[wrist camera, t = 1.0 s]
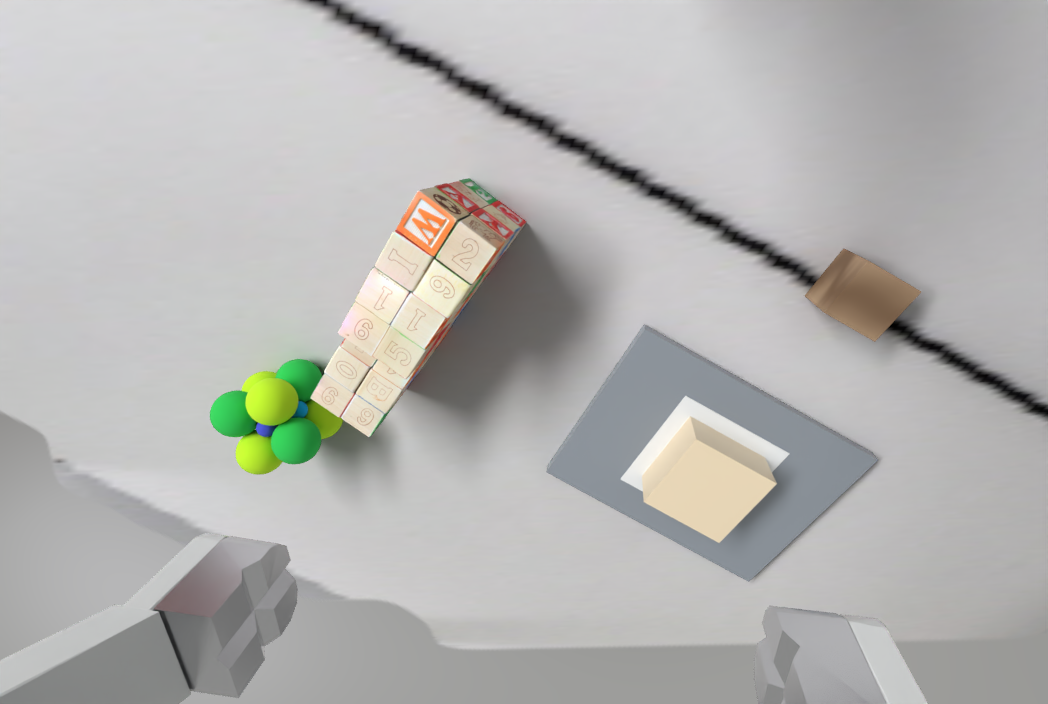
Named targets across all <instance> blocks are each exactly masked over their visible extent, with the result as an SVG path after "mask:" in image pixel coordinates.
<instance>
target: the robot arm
mask: <svg viewBox="0 0 1048 704" xmlns="http://www.w3.org/2000/svg"><path fill="white" fill-rule="evenodd" d="M289 562H290V556H289V553H288V550H287V547H286V546H285V545H281V544H277V543H271V542H265V541H259V540H252V539H246V538H240V537H233V536H224V535H218V534H211V533H205V534H202V535H200V536H197V537H195V538H194V539H193V540H192V541H191V542H190V543H189V544H188V545H187V546H186V547H184V548H183V549H182V550H181V551H180V552H179V553H178V554H177V555H176V556H175V557H174V558H173V559H172V560H171V561H170V562H169V563H168V564H167V565H165V566H164V567H163V568H162V569H161V570H160V571H159V572H158V573H157V574H156V575H155V576H154V577H153V578H152V579H151V580H149V581H148V582H147V583H146V584H145V585H144V586H143V587H142V588H141V589H140V590H139V591H138V592H137V593H136V594H135V595H134V596H132V597H131V598H130V599H129V600H128V601H127V602H126V603H125V604H124V605H123V606H122V605H113V606H111V607H109V608H107V609H105V610H103V611H101V612H99V613H96V614H94V615H93V616H90V617H88V618H86V619H84V620H82V621H80V622H78V623H76V624H74V625H72V626H70V627H68V628H66V629H64V630H62V631H60V632H58V633H55V634H53V635H51V636H49V637H47V638H45V639H43V640H41V641H39V642H37V643H35V644H33V645H31V646H29V647H27V648H25V649H23V650H20V651H18V652H16V653H14V654H12V655H10V656H8V657H6V658H4V659H2V660H0V704H179V703H180V702H182V701H183V700H184V699H186V698H187V697H188V696H189V695H191V692H190V691H194V692H201V693H208V694H215V695H222V696H228V697H235V698H239V697H240V695H241V694H242V692H243V690H244V689H245V688H246V686H247V685H248V683H249V682H250V681H251V679H252V678H253V676H254V674H255V673H256V672H257V670H258V669H259V667H260V666H261V664H262V663H263V661H264V660H265V646H266V645H267V644H268V643H270V642H272V641H273V640H275V639H276V638H278V637H279V636H281V635H282V633H283V631H284V630H285V628H286V627H287V625H288V624H289V622H290V621H291V618H292V615H293V612H294V609H295V607H296V604H297V591H298V589H297V585H296V580H295V578H294V577H293V576H292V575H291V574H290V573H289V572H288V571H287V570H286V569H285V568H286V566H287V565H288V563H289ZM762 624H763V628H764V631H765V634H766V638H764V639H763V640H762V641H760V642H759V643H757V647H756V652H755V657H754V681H755V688H756V694H757V699H758V703H759V704H928V702H927V700H926V698H925V696H924V695H923V693H922V692H921V689H920V688H919V686H918V684H917V682H916V681H915V679H914V677H913V675H912V673H911V671H910V669H909V668H908V666H907V664H906V662H905V661H904V659H903V657H902V655H901V653H900V652H899V650H898V648H897V646H896V644H895V643H894V641H893V639H892V637H891V635H890V634H889V632H888V630H887V628H886V626H885V625H884V624H883V623H882V622H881V621H880V620H878V619H875V618H867V617H859V616H851V615H842V614H840V615H838V614H836V613H828V612H819V611H811V610H802V609H793V608H785V607H776V606H769V607H768V608H767V610H766V611H765V614H764V618H763V622H762Z"/></svg>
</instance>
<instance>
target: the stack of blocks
mask: <svg viewBox="0 0 1048 704" xmlns="http://www.w3.org/2000/svg"><path fill="white" fill-rule="evenodd" d="M525 224H526V221H525V220H523V219H522V218H521V217H519V216H518V215H517V214H516V213H514V212H513V211H512V210H510V209H509V208H508V207H506V206H505V205H504V204H502V203H501V202H500V201H498V200H496V199H495V198H494V197H492V196H491V195H490V194H489V193H487V192H486V191H485V190H484V189H482V188H481V187H480V186H478V185H477V184H476V183H474V182H473V181H472V180H471V179H469V178H468V179H463V180H459V181H458V182H453V183H449V184H447V183H446V184H442V185H437V186H434V187H433V188H427V189H423V190H418V191H417V193H416V195H415V196H414V198H413V200H412V202H411V203H410V205H409V207H408V209H407V210H406V212H405V214H404V216H403V217H402V219H401V221H400V223H399V224H398V226H397V230H395V231H394V232H393V233H392V234H391V236H390V238H389V240H388V242H387V244H386V246H385V247H384V249H383V251H382V253H381V255H380V257H379V258H378V260H377V262H376V264H375V267H373V268H372V269H371V271H370V273H369V274H368V276H367V278H366V280H365V282H364V284H363V286H362V287H361V289H360V291H359V293H358V295H357V297H356V300H355V302H354V304H353V305H352V307H351V309H350V311H349V312H348V314H347V316H346V318H345V320H344V322H343V323H342V325H341V327H340V329H339V331H338V334H339V335H341V336H342V337H344V338H345V339H344V341H343V342H342V344H341V345H340V346H339V347H338V349H337V350H336V352H335V353H334V355H333V357H332V358H331V360H330V362H329V364H328V365H327V367H326V369H325V370H324V373H325V374H324V375H323V377H322V378H321V380H320V382H319V383H318V385H317V387H316V388H315V390H314V392H313V393H312V395H311V397H310V398H311V399H312V400H314V401H315V402H317V403H318V404H320V405H321V406H323V407H324V408H326V409H327V410H329V411H330V412H331V413H333V414H334V415H336V416H337V417H341V418H342V419H343V420H344V421H346V422H347V423H349V424H350V425H352V426H353V427H354V428H356V429H358V430H359V431H360V432H362V433H363V434H365V435H366V436H368V437H370V436H371V435H372V434H373V433H374V432H375V430H376V429H377V428H378V427H379V425H380V424H381V423H382V422H383V420H384V419H385V417H386V416H387V414H388V413H389V411H390V410H391V409H392V408H393V406H394V405H395V404H396V402H397V401H398V400H399V398H400V397H401V396H402V395H403V393H404V392H405V391H406V389H407V388H408V387H409V385H410V384H411V382H412V381H413V379H414V378H415V377H416V376H417V374H418V373H419V372H420V370H421V369H422V368H423V366H424V365H425V364H426V362H427V361H428V359H429V358H430V357H431V355H432V354H433V352H434V351H435V349H436V348H437V347H438V345H439V344H440V343H441V341H442V340H443V338H444V337H445V336H446V334H447V333H448V331H449V330H450V329H451V327H452V324H453V323H454V322H455V320H456V319H457V317H458V316H459V315H460V313H461V312H462V310H463V309H464V308H465V306H466V305H467V303H468V302H469V300H470V299H471V297H472V296H473V295H474V293H475V292H476V290H477V289H478V288H479V286H480V285H481V283H482V282H483V281H484V279H485V278H486V277H487V276H488V275H489V273H490V272H491V271H492V269H493V268H494V266H495V265H496V264H497V262H498V261H499V260H500V258H501V257H502V255H503V254H504V253H505V251H506V250H507V249H508V248H509V246H510V245H511V244H512V242H513V241H514V239H515V238H516V237H517V235H518V234H519V232H520V231H521V230H522V228H523V227H524V225H525Z"/></svg>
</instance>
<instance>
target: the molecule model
mask: <svg viewBox="0 0 1048 704" xmlns="http://www.w3.org/2000/svg"><path fill="white" fill-rule="evenodd" d="M321 378H322V374H321V372H320V370H319V368H318V367H317V366H316V365H315V364H313V363H312V362H310V361H307V360H303V359H296V360H291V361H289V362H287V363H285V364H284V365H282V366H281V367H280V369H279V370H278V372H277V374H276V373H274V372H269V371H264V372H258V373H256V374H254V375H252V376H250V377H249V378H248V379H247V380H246V381H245V383H244V385H243V387H242V391H231V392H227V393H225V394H223V395H221V396H220V397H219V398H218V399H217V400H216V401H215V402H214V403H213V405H212V407H211V410H210V420H211V423H212V425H213V427H214V428H215V429H216V430H217V431H218V432H219V433H221V434H223V435H225V436H229V437H241V436H243V437H242V439H241V440H240V441H239V443H238V445H237V448H236V459H237V462H238V464H239V465H240V467H241V468H242V469H244V470H245V471H247V472H249V473H251V474H266V473H269V472H271V471H273V470H275V469H276V468H277V467H279V466H280V464H281V463H282V462H285V463H288V464H300V463H304V462H306V461H308V460H310V459H311V458H312V457H314V456H315V454H316V453H317V452H318V450H319V448H320V445H321V439H325V438H328V437H331V436H332V435H334V434H335V433H336V432H337V431H338V430H339V429H340V427H341V425H342V422H343V419H342V418H341V417H337V416H336V415H334V414H333V413H331V412H330V411H329V410H327V409H326V408H324V407H323V406H321V405H320V404H318V403H317V402H315V401H314V400H312V399H311V398H310V397H311V395H312V393H313V392H314V390H315V388H316V387H317V385H318V383H319V382H320V380H321ZM304 402H305V403H304ZM255 429H256V430H255Z"/></svg>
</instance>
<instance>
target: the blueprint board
mask: <svg viewBox="0 0 1048 704" xmlns="http://www.w3.org/2000/svg"><path fill="white" fill-rule="evenodd" d="M877 461H878V459H877V458H876V457H875V456H874V454H873V453H872V452H870V451H868V450H867V449H865V448H863V447H861V446H860V445H858V444H856V443H854V442H852V441H851V440H849V439H847V438H845V437H844V436H842V435H840V434H838V433H836V432H835V431H833V430H831V429H829V428H828V427H826V426H824V425H822V424H820V423H819V422H817V421H815V420H813V419H811V418H810V417H808V416H806V415H804V414H803V413H801V412H799V411H797V410H795V409H794V408H792V407H790V406H788V405H787V404H785V403H783V402H781V401H779V400H778V399H776V398H774V397H772V396H771V395H769V394H767V393H765V392H763V391H762V390H760V389H758V388H756V387H755V386H753V385H751V384H749V383H747V382H746V381H744V380H742V379H740V378H739V377H737V376H735V375H733V374H731V373H730V372H728V371H726V370H724V369H722V368H721V367H719V366H717V365H715V364H714V363H712V362H710V361H708V360H706V359H705V358H703V357H701V356H699V355H698V354H696V353H694V352H692V351H690V350H689V349H687V348H685V347H683V346H682V345H680V344H678V343H676V342H674V341H673V340H671V339H669V338H667V337H666V336H664V335H662V334H660V333H658V332H657V331H655V330H653V329H651V328H649V327H648V326H646V325H643V327H642V328H641V330H640V331H639V333H638V334H637V336H636V337H635V339H634V340H633V342H632V343H631V344H630V346H629V347H628V349H627V350H626V352H625V353H624V355H623V356H622V358H621V359H620V361H619V362H618V363H617V365H616V366H615V368H614V369H613V371H612V372H611V374H610V375H609V377H608V378H607V380H606V381H605V382H604V384H603V385H602V387H601V388H600V390H599V391H598V393H597V394H596V396H595V397H594V399H593V400H592V401H591V403H590V404H589V406H588V407H587V409H586V410H585V412H584V413H583V415H582V416H581V418H580V419H579V420H578V422H577V423H576V425H575V426H574V428H573V429H572V431H571V432H570V434H569V435H568V437H567V438H566V439H565V441H564V442H563V444H562V445H561V447H560V448H559V450H558V451H557V453H556V454H555V456H554V457H553V458H552V460H551V461H550V463H549V464H548V467H547V473H549V474H551V475H553V476H555V477H556V478H558V479H560V480H562V481H564V482H566V483H567V484H569V485H571V486H573V487H575V488H577V489H579V490H580V491H582V492H584V493H586V494H588V495H590V496H591V497H593V498H595V499H597V500H599V501H601V502H603V503H604V504H606V505H608V506H610V507H612V508H614V509H616V510H617V511H619V512H621V513H623V514H625V515H627V516H628V517H630V518H632V519H634V520H636V521H638V522H640V523H641V524H643V525H645V526H647V527H649V528H651V529H652V530H654V531H656V532H658V533H660V534H662V535H664V536H665V537H667V538H669V539H671V540H673V541H675V542H676V543H678V544H680V545H682V546H684V547H686V548H688V549H689V550H691V551H693V552H695V553H697V554H699V555H700V556H702V557H704V558H706V559H708V560H710V561H712V562H713V563H715V564H717V565H719V566H721V567H723V568H724V569H726V570H728V571H730V572H732V573H734V574H736V575H737V576H739V577H741V578H743V579H745V580H747V581H748V582H749V581H750V580H751V579H752V578H753V577H754V576H755V575H756V574H757V573H759V572H760V571H761V570H762V569H763V568H764V567H765V566H766V565H767V564H768V563H769V562H770V561H771V560H772V559H773V558H775V557H776V556H777V555H778V554H779V553H780V552H781V551H782V550H783V549H784V548H785V547H786V546H787V545H788V544H789V543H790V542H792V541H793V540H794V539H795V538H796V537H797V536H798V535H799V534H800V533H801V532H802V531H803V530H804V529H805V528H806V527H808V526H809V525H810V524H811V523H812V522H813V521H814V520H815V519H816V518H817V517H818V516H819V515H820V514H821V513H822V512H824V511H825V510H826V509H827V508H828V507H829V506H830V505H831V504H832V503H833V502H834V501H835V500H836V499H837V498H838V497H839V496H841V495H842V494H843V493H844V492H845V491H846V490H847V489H848V488H849V487H850V486H851V485H852V484H853V483H854V482H855V481H857V480H858V479H859V478H860V477H861V476H862V475H863V474H864V473H865V472H866V471H867V470H868V469H869V468H870V467H871V466H873V465H874V464H875V463H876V462H877Z"/></svg>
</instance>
